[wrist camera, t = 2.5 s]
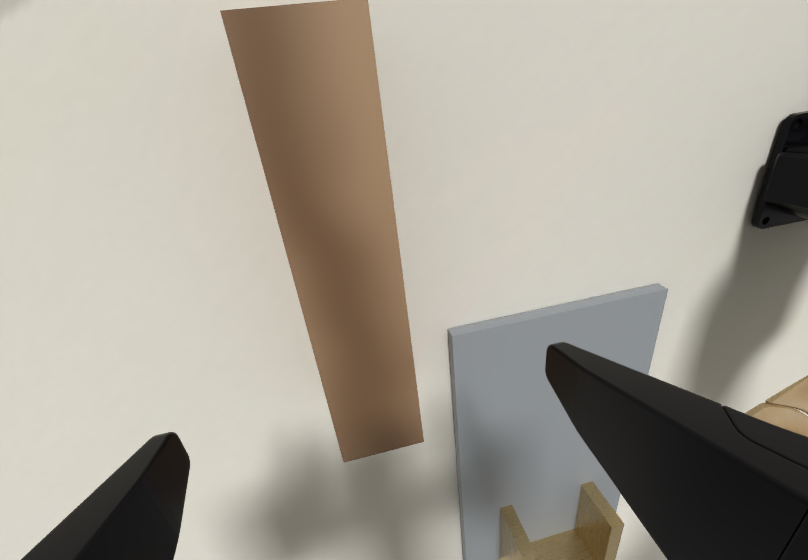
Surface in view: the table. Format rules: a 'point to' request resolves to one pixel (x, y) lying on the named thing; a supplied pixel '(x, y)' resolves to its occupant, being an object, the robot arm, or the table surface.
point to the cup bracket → (566, 533)
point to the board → (786, 408)
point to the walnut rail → (334, 207)
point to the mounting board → (535, 412)
